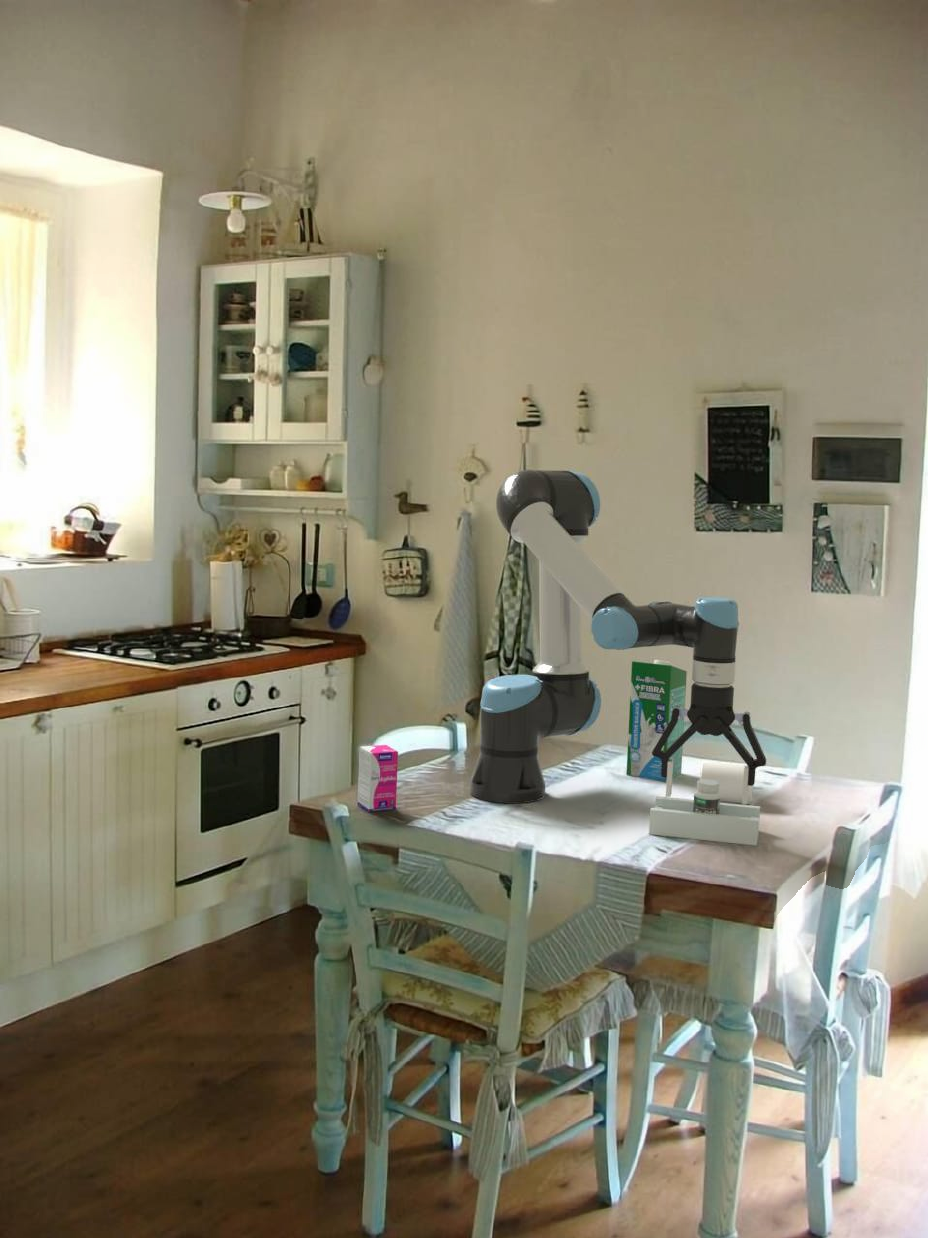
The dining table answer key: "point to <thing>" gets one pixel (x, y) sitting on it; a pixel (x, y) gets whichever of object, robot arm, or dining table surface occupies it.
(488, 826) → the dining table surface
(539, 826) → the dining table surface
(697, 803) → the pill bottle
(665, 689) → the milk carton
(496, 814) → the dining table surface
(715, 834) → the tray
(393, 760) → the supplement box
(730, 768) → the mug
